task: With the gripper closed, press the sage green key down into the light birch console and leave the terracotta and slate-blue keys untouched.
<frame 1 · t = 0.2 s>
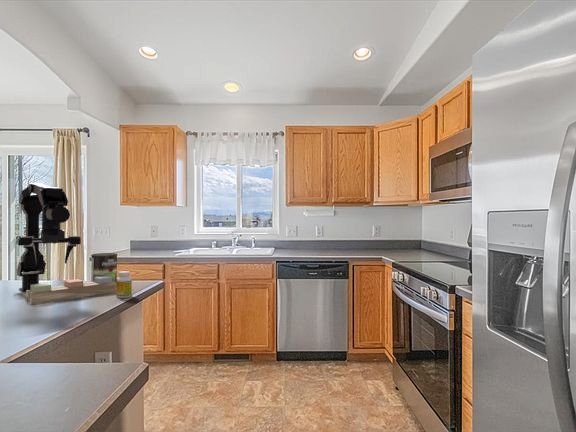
hand: (50, 264, 132), 14 cm above the worktop, fingers open, 9 cm apart
terracotta key: (73, 285, 140), point 4 cm above the worktop, slide at 0.0 cm
supplement bottle: (123, 297, 141), on the worktop
slate key: (103, 281, 149), point 4 cm above the worktop, slide at 0.0 cm
sage key: (40, 290, 132), point 4 cm above the worktop, slide at 0.0 cm
coffee can: (104, 286, 160), on the worktop
console: (73, 296, 140), on the worktop
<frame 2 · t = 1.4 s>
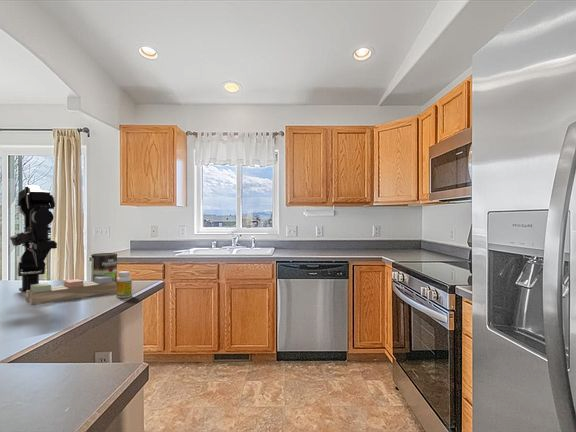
hand: (38, 266, 133), 12 cm above the worktop, fingers closed
nothing on the worktop moved.
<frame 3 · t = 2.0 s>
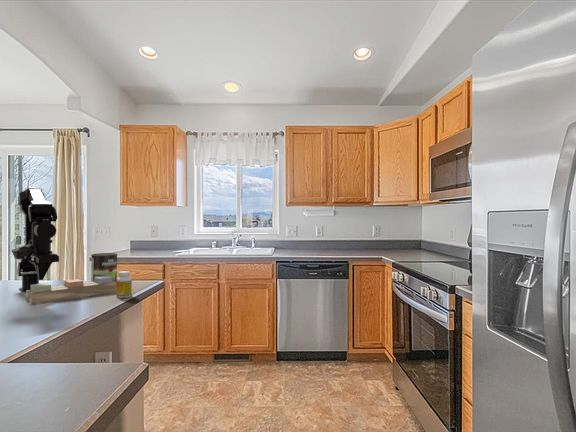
hand: (40, 279, 132), 8 cm above the worktop, fingers closed
nothing on the worktop moved.
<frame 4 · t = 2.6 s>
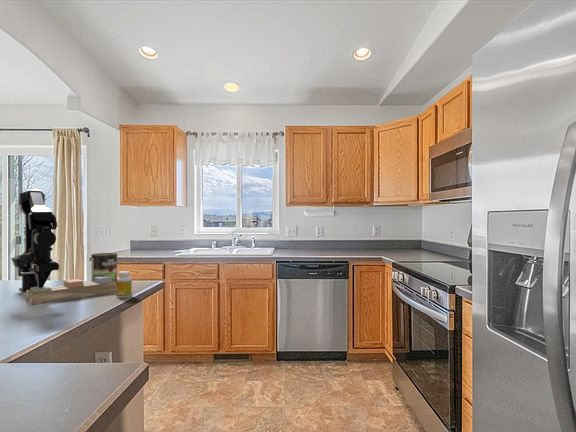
hand: (40, 287, 132), 5 cm above the worktop, fingers closed, pressing on sage key
sage key: (40, 293, 132), point 3 cm above the worktop, slide at 1.0 cm, touching gripper
everything else where it was.
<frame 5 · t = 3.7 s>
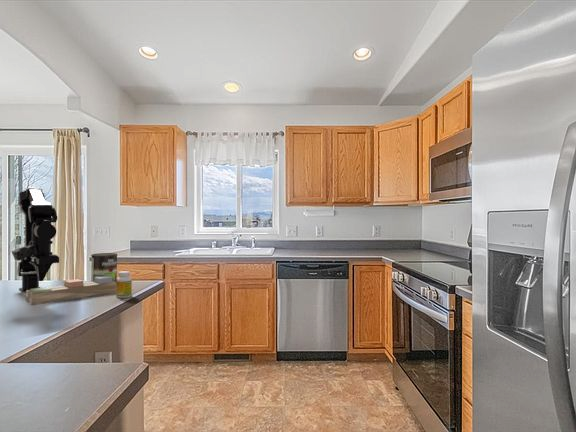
hand: (40, 280, 132), 7 cm above the worktop, fingers closed
sage key: (40, 294, 132), point 2 cm above the worktop, slide at 1.5 cm
everything else where it was.
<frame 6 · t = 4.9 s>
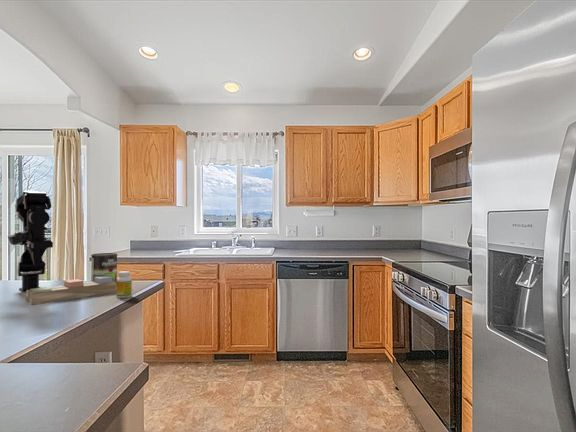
hand: (35, 265, 139), 12 cm above the worktop, fingers closed
nothing on the worktop moved.
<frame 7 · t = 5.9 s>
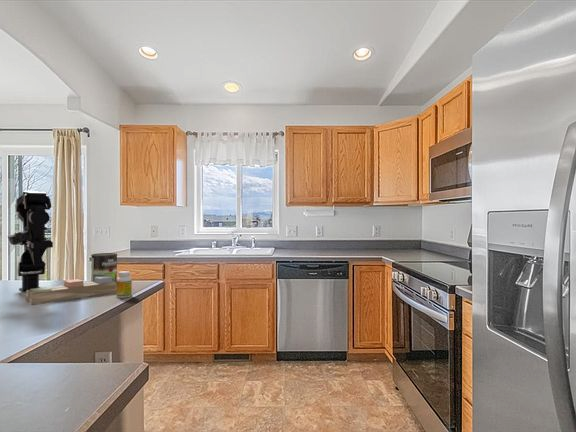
hand: (35, 265, 139), 12 cm above the worktop, fingers closed
nothing on the worktop moved.
at the end: sage key slide at 1.5 cm; terracotta key slide at 0.0 cm; slate key slide at 0.0 cm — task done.
